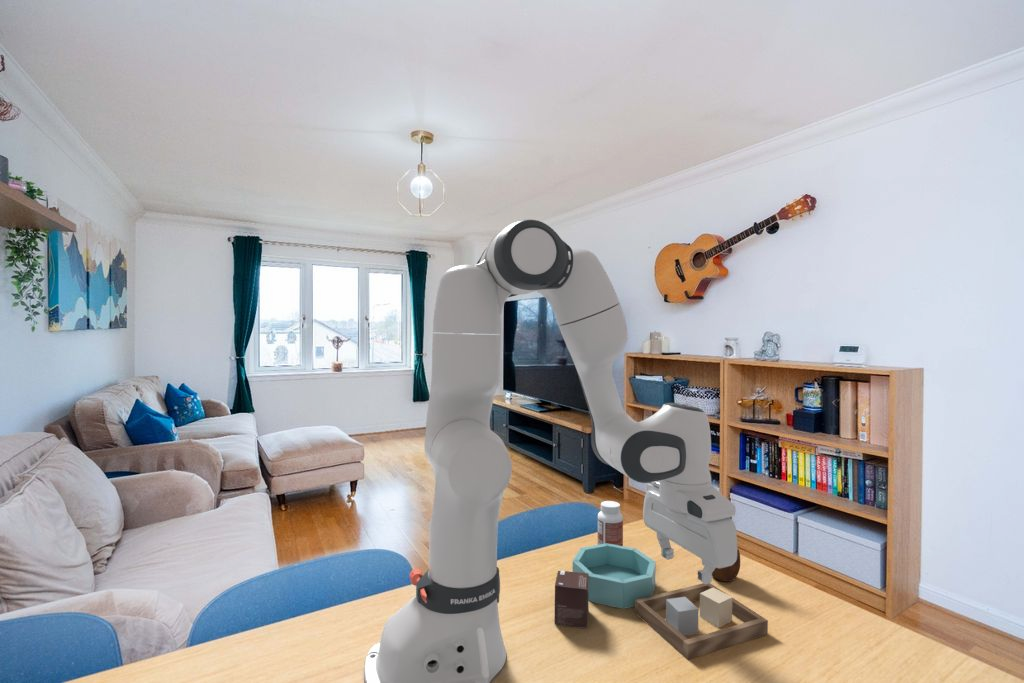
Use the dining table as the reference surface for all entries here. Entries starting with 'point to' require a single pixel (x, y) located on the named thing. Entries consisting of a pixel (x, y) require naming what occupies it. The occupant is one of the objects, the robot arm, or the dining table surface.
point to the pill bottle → (610, 524)
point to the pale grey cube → (682, 615)
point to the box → (571, 599)
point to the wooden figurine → (728, 570)
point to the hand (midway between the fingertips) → (685, 569)
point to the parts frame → (704, 643)
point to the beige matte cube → (716, 607)
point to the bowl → (616, 574)
